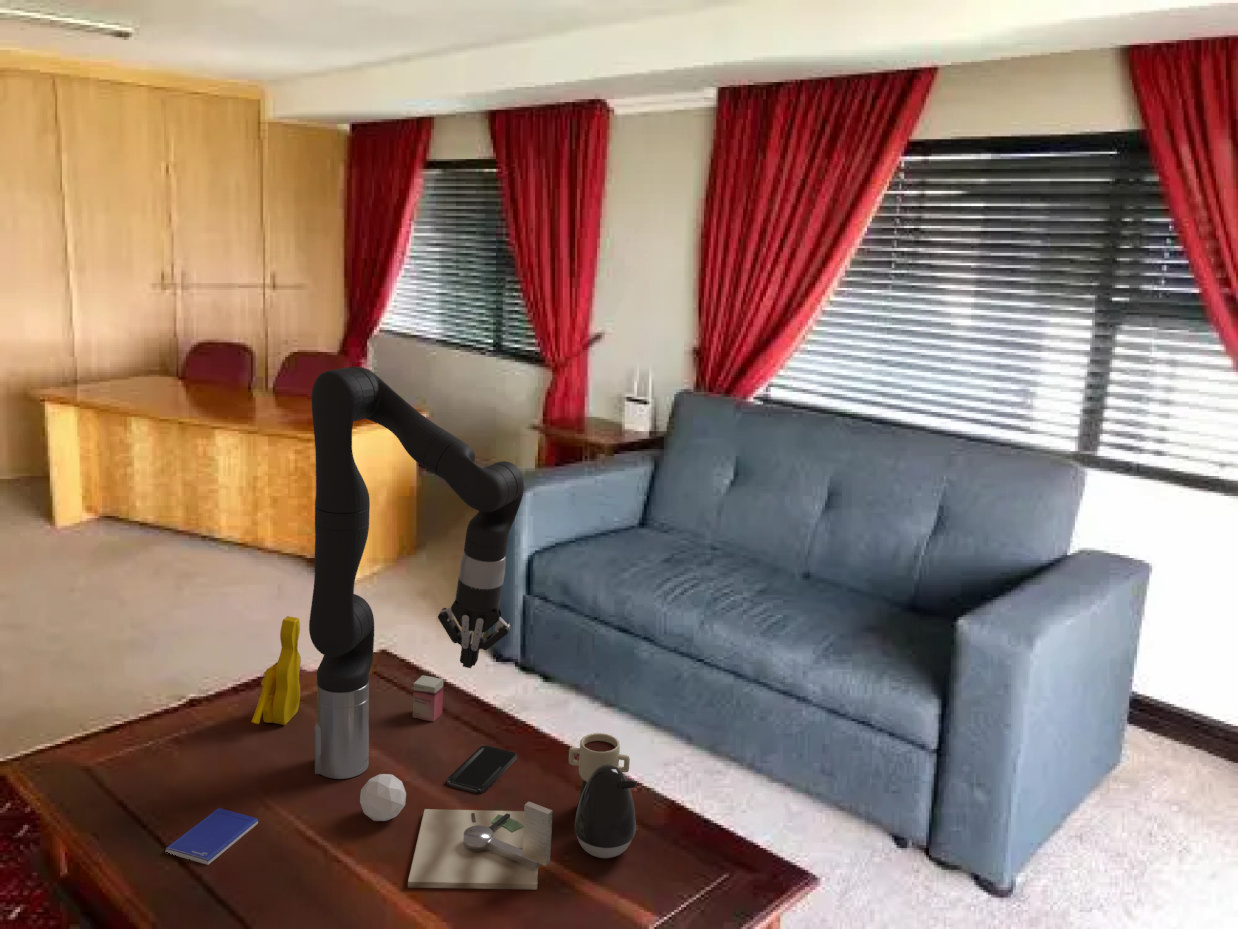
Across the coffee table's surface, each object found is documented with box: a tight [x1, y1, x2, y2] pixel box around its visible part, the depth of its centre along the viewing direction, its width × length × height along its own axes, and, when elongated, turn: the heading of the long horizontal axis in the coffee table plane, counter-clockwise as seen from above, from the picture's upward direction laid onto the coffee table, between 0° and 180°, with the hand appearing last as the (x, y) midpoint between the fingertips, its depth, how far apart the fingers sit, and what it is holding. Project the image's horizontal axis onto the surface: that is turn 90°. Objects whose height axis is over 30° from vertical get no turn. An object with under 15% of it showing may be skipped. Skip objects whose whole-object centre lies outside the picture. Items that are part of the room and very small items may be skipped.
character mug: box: [568, 732, 631, 802], centre depth 181 cm, size 11×7×13 cm, turn 80°
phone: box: [446, 744, 518, 795], centre depth 193 cm, size 8×1×15 cm
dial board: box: [407, 808, 539, 891], centre depth 169 cm, size 20×20×1 cm
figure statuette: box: [250, 616, 302, 726], centre depth 205 cm, size 18×8×22 cm, turn 173°
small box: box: [412, 674, 444, 723], centre depth 212 cm, size 5×4×8 cm
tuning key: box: [463, 801, 553, 869], centre depth 167 cm, size 16×11×11 cm
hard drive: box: [165, 807, 259, 866], centre depth 168 cm, size 2×8×12 cm
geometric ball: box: [359, 773, 407, 822], centre depth 176 cm, size 8×8×8 cm
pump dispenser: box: [574, 765, 638, 859], centre depth 170 cm, size 10×10×15 cm
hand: (468, 665), depth 177 cm, fingers closed
